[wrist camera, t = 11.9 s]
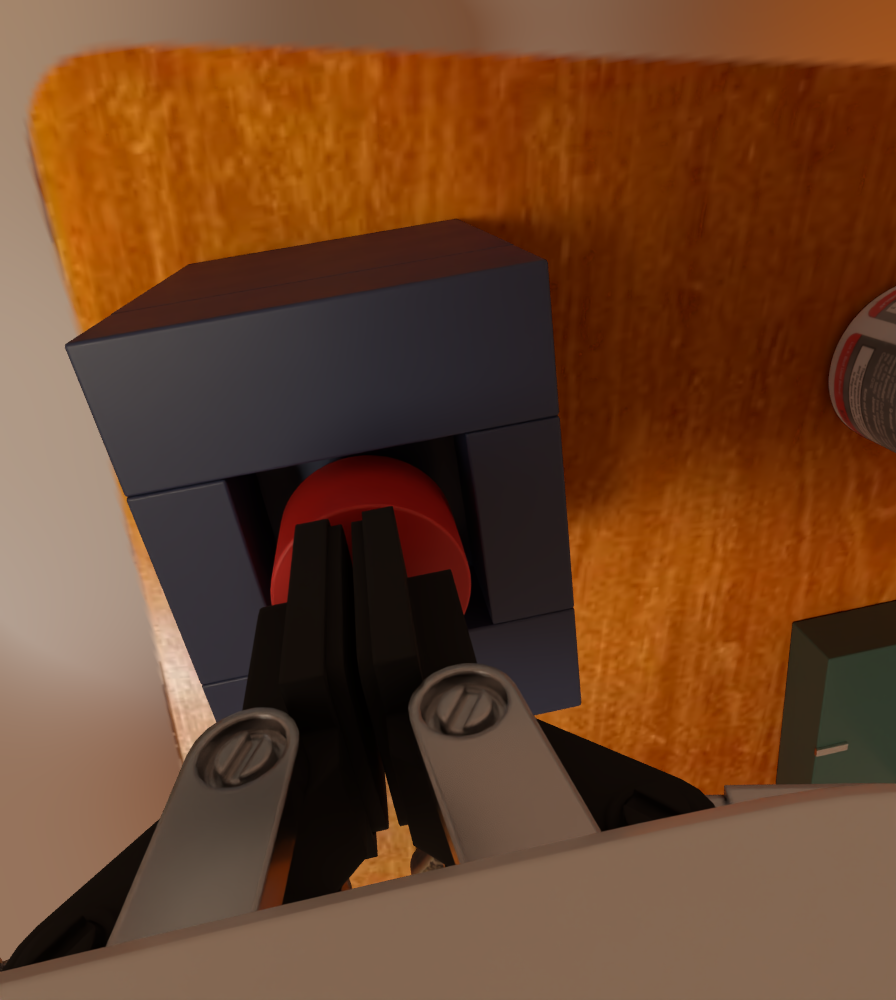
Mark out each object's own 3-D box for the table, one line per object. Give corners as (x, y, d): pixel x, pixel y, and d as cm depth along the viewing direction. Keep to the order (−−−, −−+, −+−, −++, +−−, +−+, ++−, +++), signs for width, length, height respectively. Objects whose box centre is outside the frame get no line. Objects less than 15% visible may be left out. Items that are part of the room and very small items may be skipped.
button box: (187, 264, 20) (61, 344, 11) (457, 218, 20) (548, 259, 11) (276, 555, 24) (239, 780, 15) (496, 512, 25) (582, 706, 16)
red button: (259, 472, 13) (245, 528, 11) (439, 438, 14) (456, 487, 12) (304, 620, 15) (297, 691, 13) (464, 587, 15) (482, 652, 13)
